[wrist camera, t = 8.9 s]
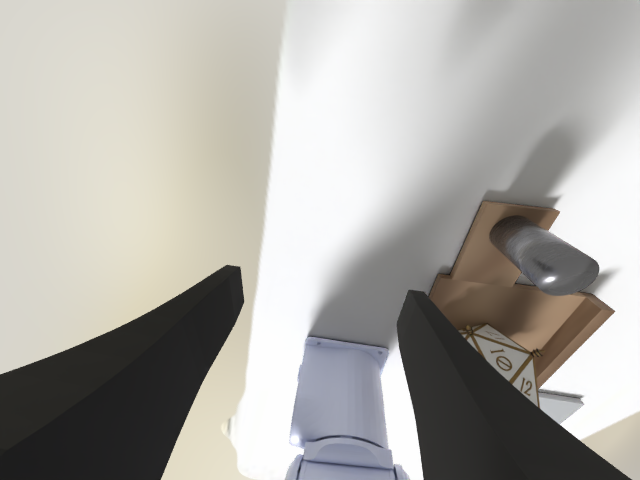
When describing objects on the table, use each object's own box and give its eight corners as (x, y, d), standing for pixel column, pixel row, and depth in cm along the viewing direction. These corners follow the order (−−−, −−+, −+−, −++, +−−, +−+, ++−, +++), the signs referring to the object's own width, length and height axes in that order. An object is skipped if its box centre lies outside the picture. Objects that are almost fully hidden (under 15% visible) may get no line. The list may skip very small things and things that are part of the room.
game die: (439, 316, 28) (424, 409, 24) (432, 287, 22) (409, 404, 18) (540, 341, 23) (542, 465, 19) (565, 311, 17) (576, 483, 13)
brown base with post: (403, 356, 27) (416, 415, 22) (469, 199, 17) (520, 237, 12) (521, 374, 26) (564, 440, 21) (657, 220, 17) (797, 270, 11)
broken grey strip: (424, 402, 31) (426, 407, 31) (440, 376, 28) (441, 381, 28) (550, 423, 30) (554, 428, 30) (579, 398, 27) (584, 404, 27)
